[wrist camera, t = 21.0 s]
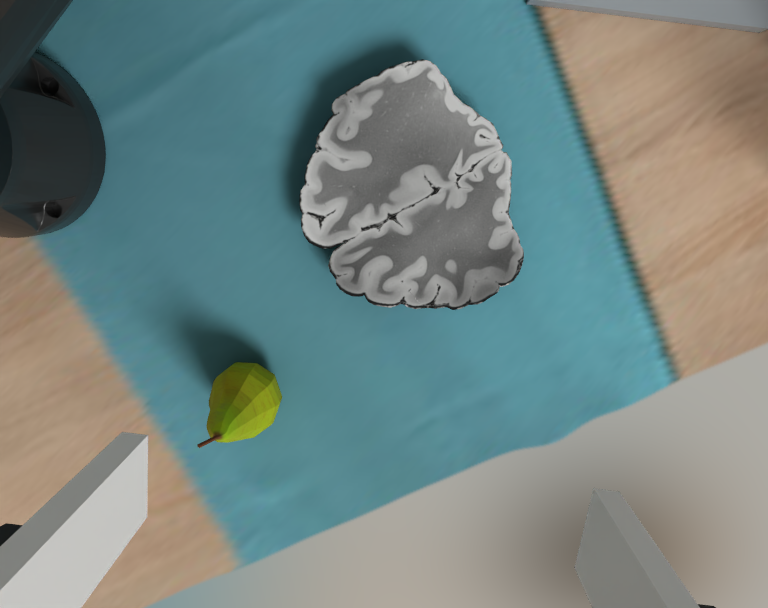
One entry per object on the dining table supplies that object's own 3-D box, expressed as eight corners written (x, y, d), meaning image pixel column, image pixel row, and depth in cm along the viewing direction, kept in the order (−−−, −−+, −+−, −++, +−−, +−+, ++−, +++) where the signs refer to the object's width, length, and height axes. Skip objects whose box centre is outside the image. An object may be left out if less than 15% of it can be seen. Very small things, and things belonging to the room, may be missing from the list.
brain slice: (261, 151, 44) (252, 149, 42) (442, 39, 42) (445, 29, 39) (379, 347, 48) (378, 358, 45) (551, 254, 46) (561, 260, 43)
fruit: (290, 417, 50) (257, 492, 38) (224, 418, 50) (171, 493, 38) (285, 352, 48) (249, 409, 37) (217, 353, 48) (160, 410, 37)
